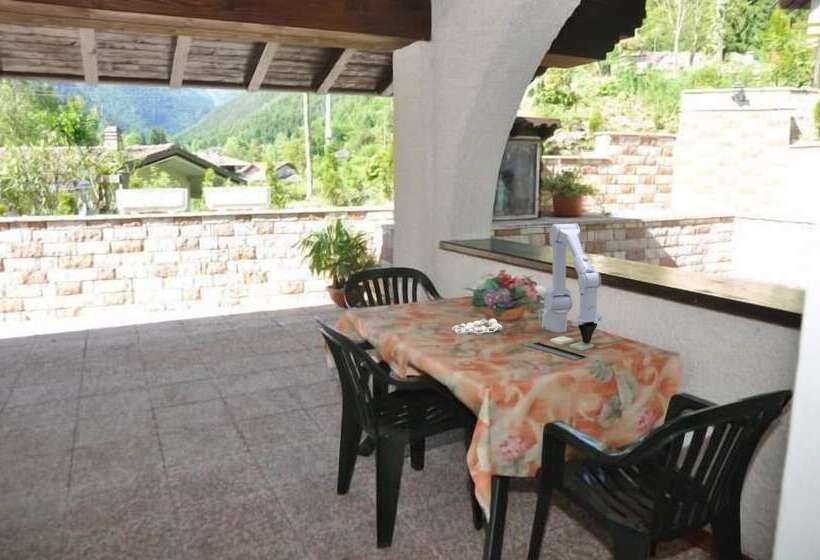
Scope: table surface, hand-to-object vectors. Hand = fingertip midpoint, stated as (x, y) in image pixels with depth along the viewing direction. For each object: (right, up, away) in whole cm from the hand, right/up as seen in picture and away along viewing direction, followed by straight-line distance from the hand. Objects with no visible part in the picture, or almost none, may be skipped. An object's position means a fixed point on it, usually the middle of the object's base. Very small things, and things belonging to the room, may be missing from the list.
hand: (586, 342), depth 213 cm
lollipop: (-7, +5, +46) cm, 46 cm away
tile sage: (-2, -3, -1) cm, 4 cm away
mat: (-8, -3, +1) cm, 9 cm away
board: (+4, -1, +9) cm, 10 cm away
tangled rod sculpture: (-35, +1, +27) cm, 44 cm away
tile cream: (-7, -1, +6) cm, 10 cm away
